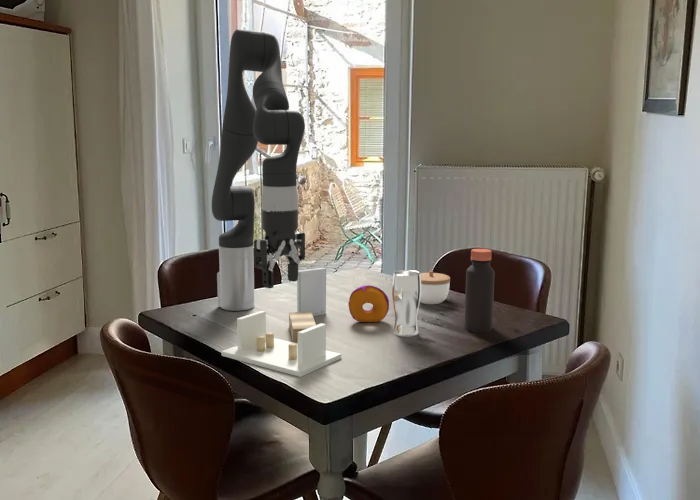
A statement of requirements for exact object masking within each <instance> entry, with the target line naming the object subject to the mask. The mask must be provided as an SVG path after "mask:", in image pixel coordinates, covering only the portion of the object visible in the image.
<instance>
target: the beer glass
mask: <svg viewBox="0 0 700 500" xmlns="http://www.w3.org/2000/svg"><path fill="white" fill-rule="evenodd" d="M421 273H422V272H420V271H417V270H413V269H412V270H411V269H400V270H395V271H394V272H393V273H392V275H393V276H392V284H391V289H392V290H391V296H392V303H393V311H394V324H393V325H394V326H393V330H392V333H393V334H394V335H395V336H398V337H404V338H410V337H415V336H418V334H419V328H418V327H419V326H418V313H419V310H420V309H419V308H420V305H421V303H420V299H421Z"/></svg>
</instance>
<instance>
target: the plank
mask: <svg viewBox="0 0 700 500" xmlns="http://www.w3.org/2000/svg"><path fill="white" fill-rule="evenodd" d="M288 325H289V326H288V327H289V328H288V329H289V331H290V337H291V340H292V341H291V342H293V343H297V341H298V332H300V331H302V330H305V329H308V328H310V327H313V326H316V325H317V324H316V321H315V319H314V316H313V315H312V313H311V312H292V311H291V312H288Z"/></svg>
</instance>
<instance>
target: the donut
mask: <svg viewBox="0 0 700 500" xmlns="http://www.w3.org/2000/svg"><path fill="white" fill-rule="evenodd" d="M365 304H370V305H372V308H371V309H369V310H367V309H364V307H363V306H364V305H365ZM348 309H349V313H350V316H351V317H352V319H353V320H355V321H357V322H361V323H378V322H381V321H382V320H384V319H385V318H386V316H387V315H388V313H389V310H390V300H389V296H388V295H387V294H386V292H385V291H384V290H382V289H381V288H379V287H378V286H374V285H371V284H370V285H366V284H365V285H362V286H360V287H357V288H356V289H354V290H353V291H352V292H351V294H350V295H349V301H348Z"/></svg>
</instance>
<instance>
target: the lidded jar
mask: <svg viewBox="0 0 700 500" xmlns="http://www.w3.org/2000/svg"><path fill="white" fill-rule="evenodd" d="M420 273H421V299H420V304H424V305H425V304H426V305H438V304H442V303H443V302H444V301H445V300H446V299H447V297H448V294H449V292H450V283H451V277H450V276H449V274H448V275H447V274H446V273H438V272H434V270H429V272H420Z"/></svg>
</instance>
